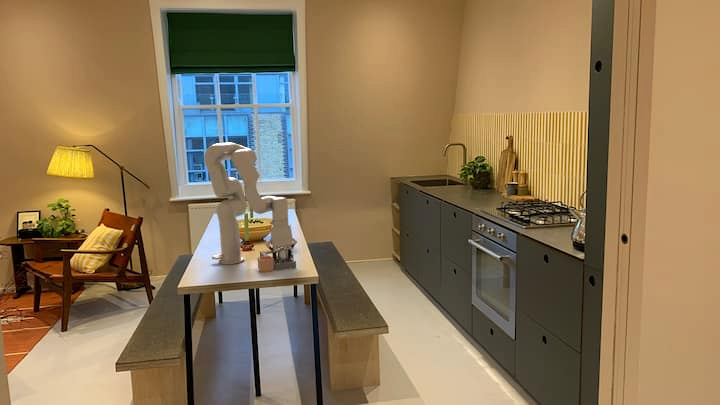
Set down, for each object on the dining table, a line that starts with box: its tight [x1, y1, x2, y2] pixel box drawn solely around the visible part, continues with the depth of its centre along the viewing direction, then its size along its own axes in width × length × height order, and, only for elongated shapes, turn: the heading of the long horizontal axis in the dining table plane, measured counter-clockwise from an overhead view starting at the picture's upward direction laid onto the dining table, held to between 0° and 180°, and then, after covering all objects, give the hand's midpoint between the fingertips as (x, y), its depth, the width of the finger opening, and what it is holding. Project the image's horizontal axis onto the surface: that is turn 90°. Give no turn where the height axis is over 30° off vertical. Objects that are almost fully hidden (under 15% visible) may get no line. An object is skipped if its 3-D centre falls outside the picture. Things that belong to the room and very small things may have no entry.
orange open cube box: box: [257, 256, 275, 273], centre depth 258 cm, size 6×6×6 cm
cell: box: [276, 247, 288, 263], centre depth 264 cm, size 4×4×9 cm
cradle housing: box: [259, 248, 295, 260], centre depth 279 cm, size 14×14×3 cm
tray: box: [273, 257, 297, 271], centre depth 265 cm, size 11×11×3 cm
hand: (282, 258), depth 264 cm, fingers open, 6 cm apart
